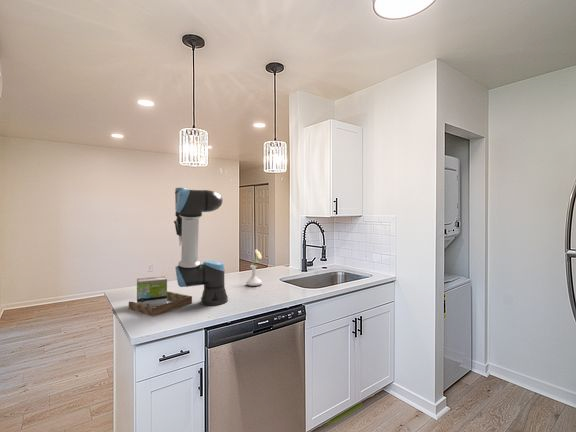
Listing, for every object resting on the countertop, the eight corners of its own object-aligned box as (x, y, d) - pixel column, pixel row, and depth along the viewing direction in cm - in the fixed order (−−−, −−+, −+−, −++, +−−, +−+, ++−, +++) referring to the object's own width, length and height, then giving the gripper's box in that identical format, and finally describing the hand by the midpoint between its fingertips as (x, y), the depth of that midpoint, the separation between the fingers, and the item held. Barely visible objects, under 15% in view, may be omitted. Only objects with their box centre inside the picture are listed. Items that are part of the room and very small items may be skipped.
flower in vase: (255, 287, 203) (254, 251, 203) (242, 285, 209) (242, 250, 209) (266, 283, 214) (266, 249, 214) (254, 282, 220) (254, 248, 220)
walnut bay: (192, 303, 170) (191, 296, 170) (153, 316, 149) (153, 308, 149) (168, 297, 181) (167, 291, 181) (128, 309, 160) (128, 301, 160)
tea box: (137, 309, 161) (137, 281, 160) (136, 304, 169) (136, 278, 169) (167, 304, 168) (167, 278, 168) (165, 300, 177) (164, 275, 176)
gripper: (192, 210, 201) (192, 245, 202) (179, 210, 208) (180, 244, 208) (183, 210, 195) (183, 246, 195) (170, 210, 202) (170, 245, 202)
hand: (181, 245), depth 202 cm, fingers closed
